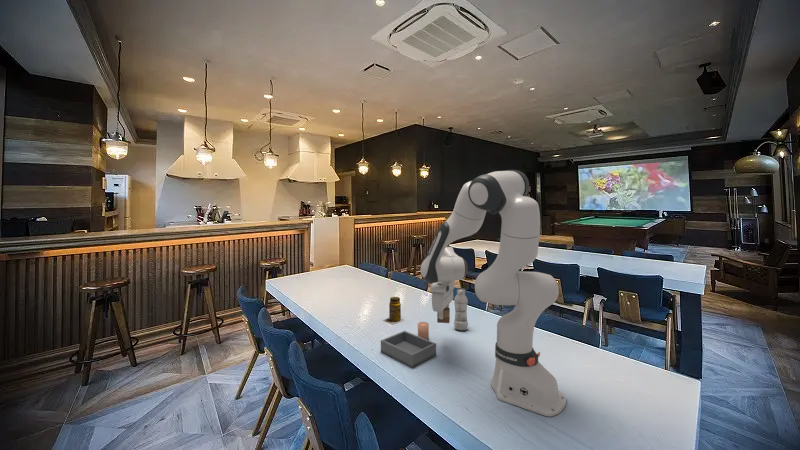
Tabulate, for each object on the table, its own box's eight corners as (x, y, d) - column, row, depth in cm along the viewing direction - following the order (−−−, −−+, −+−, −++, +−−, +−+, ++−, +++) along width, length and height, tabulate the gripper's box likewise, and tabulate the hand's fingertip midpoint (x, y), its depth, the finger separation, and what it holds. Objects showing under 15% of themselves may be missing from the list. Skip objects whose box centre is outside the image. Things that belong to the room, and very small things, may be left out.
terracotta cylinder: (430, 338, 140) (430, 323, 139) (423, 342, 136) (423, 326, 136) (422, 335, 143) (422, 320, 143) (415, 338, 140) (415, 323, 139)
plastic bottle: (468, 332, 146) (468, 291, 145) (453, 331, 148) (453, 290, 146) (467, 327, 153) (468, 287, 151) (454, 326, 154) (454, 287, 153)
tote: (436, 355, 124) (436, 343, 124) (412, 368, 114) (412, 355, 114) (404, 341, 137) (404, 330, 137) (380, 352, 127) (380, 340, 127)
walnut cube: (449, 323, 128) (449, 311, 128) (437, 322, 129) (437, 310, 129) (449, 319, 133) (449, 307, 133) (438, 318, 134) (437, 307, 133)
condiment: (404, 320, 163) (404, 297, 162) (392, 324, 157) (392, 301, 156) (394, 316, 168) (394, 295, 167) (383, 320, 162) (382, 298, 161)
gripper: (443, 278, 141) (443, 308, 141) (429, 288, 122) (429, 322, 123) (456, 280, 138) (456, 310, 139) (444, 289, 120) (444, 325, 120)
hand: (443, 316), depth 131 cm, fingers closed on walnut cube, 6 cm apart
